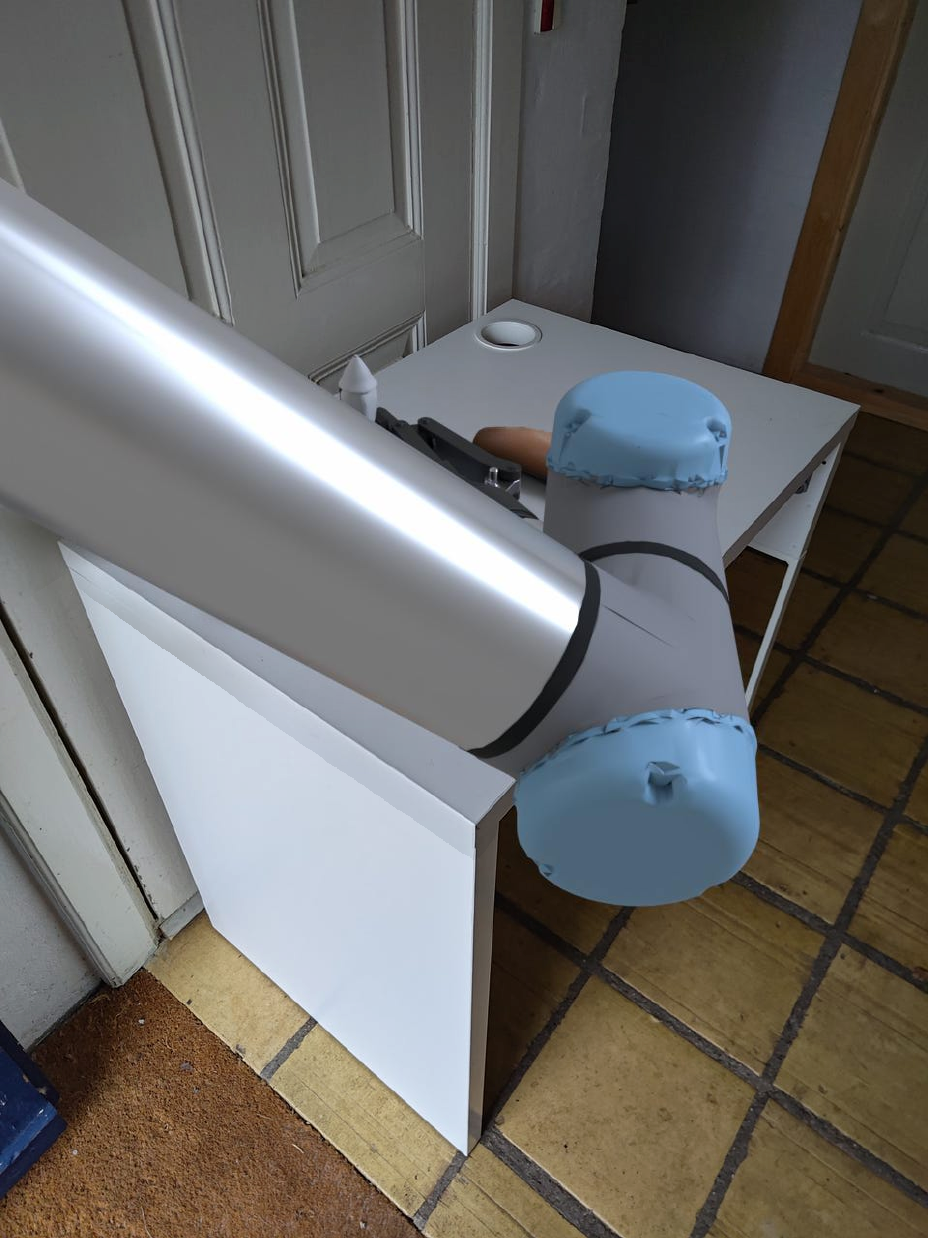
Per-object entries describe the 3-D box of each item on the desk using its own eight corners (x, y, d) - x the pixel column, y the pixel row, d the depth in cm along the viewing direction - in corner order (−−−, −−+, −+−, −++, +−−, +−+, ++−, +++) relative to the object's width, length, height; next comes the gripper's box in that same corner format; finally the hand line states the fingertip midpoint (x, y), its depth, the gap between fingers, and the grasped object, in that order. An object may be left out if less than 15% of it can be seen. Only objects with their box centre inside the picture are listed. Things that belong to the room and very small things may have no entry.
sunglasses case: (646, 475, 95) (638, 442, 89) (615, 527, 94) (605, 498, 88) (511, 425, 103) (496, 392, 97) (481, 473, 102) (463, 442, 96)
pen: (375, 532, 67) (365, 366, 58) (345, 524, 68) (329, 358, 58) (389, 514, 69) (381, 350, 59) (359, 506, 70) (346, 342, 60)
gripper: (394, 658, 52) (245, 475, 66) (591, 574, 58) (415, 423, 72) (387, 560, 47) (228, 385, 61) (604, 478, 53) (411, 337, 67)
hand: (329, 406), depth 67 cm, fingers closed on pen, 2 cm apart
